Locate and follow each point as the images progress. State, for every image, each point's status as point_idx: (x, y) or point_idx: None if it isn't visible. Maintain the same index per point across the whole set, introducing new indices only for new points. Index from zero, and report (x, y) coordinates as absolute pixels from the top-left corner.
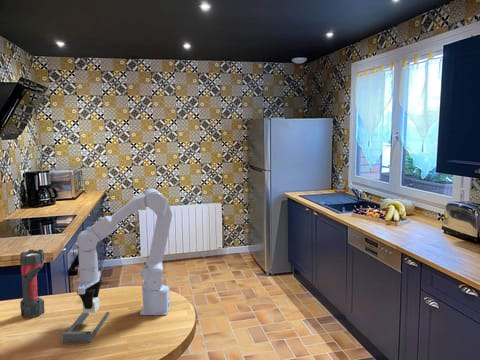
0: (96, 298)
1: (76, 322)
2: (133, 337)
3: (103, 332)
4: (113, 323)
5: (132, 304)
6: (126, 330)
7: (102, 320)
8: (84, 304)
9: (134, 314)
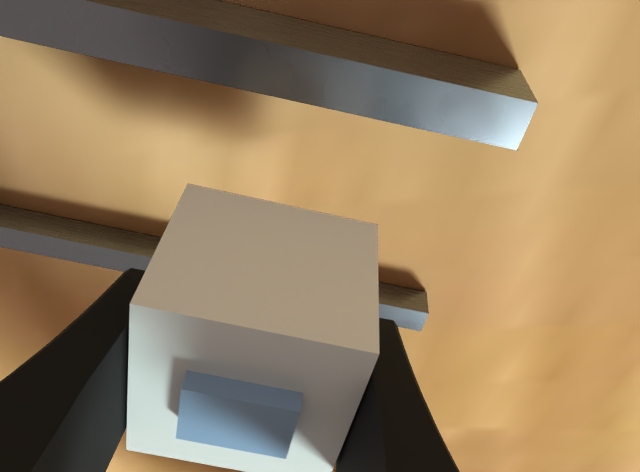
0: (278, 464)
1: (136, 47)
2: None
3: (75, 284)
4: None
5: (552, 453)
6: None
7: None
8: (84, 326)
9: None
